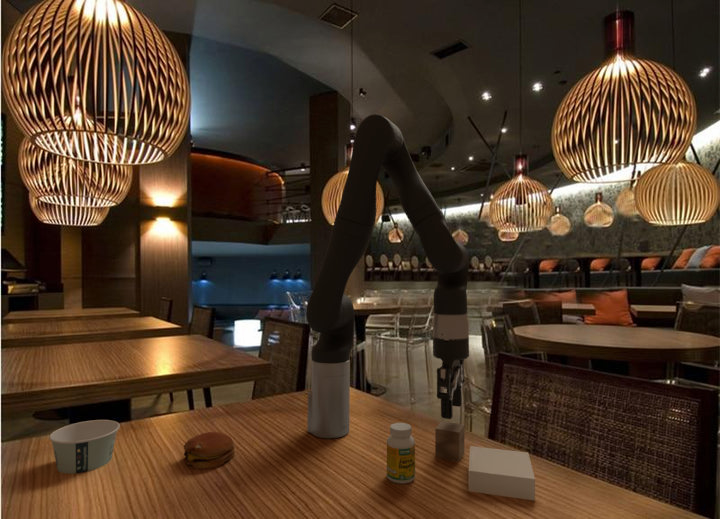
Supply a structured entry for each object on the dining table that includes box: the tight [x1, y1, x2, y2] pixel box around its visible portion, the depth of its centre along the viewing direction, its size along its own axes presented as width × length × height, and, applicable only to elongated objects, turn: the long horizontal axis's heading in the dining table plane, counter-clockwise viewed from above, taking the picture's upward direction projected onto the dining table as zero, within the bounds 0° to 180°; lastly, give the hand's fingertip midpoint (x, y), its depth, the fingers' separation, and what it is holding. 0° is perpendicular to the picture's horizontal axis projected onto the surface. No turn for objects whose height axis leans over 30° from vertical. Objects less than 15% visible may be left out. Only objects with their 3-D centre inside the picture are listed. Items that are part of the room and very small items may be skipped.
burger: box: [183, 431, 236, 470], centre depth 89 cm, size 10×9×5 cm
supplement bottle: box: [386, 422, 416, 485], centre depth 82 cm, size 5×5×10 cm
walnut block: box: [434, 420, 465, 463], centre depth 92 cm, size 5×5×6 cm
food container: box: [48, 419, 121, 475], centre depth 87 cm, size 12×12×6 cm
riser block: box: [468, 445, 536, 501], centre depth 81 cm, size 11×11×4 cm
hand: (451, 411), depth 92 cm, fingers open, 8 cm apart
